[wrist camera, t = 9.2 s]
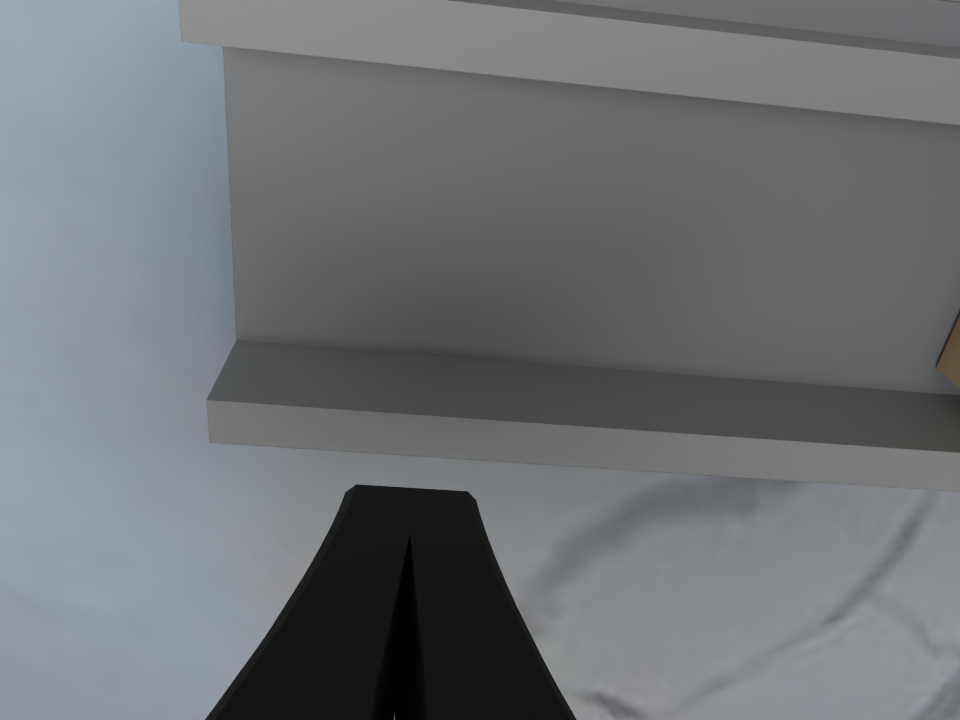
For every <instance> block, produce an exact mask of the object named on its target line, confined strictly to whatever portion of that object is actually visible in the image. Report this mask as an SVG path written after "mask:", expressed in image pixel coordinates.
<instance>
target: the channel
mask: <svg viewBox="0 0 960 720" xmlns="http://www.w3.org/2000/svg"><path fill="white" fill-rule="evenodd" d="M178 1H179V15H180V29H181V42H190V43H200V44H209V45H218V46H223V55H224V76H225V98H226V119H227V141H228V162H229V184H230V205H231V227H232V248H233V270H234V291H235V313H236V334H237V341H236V343H235V345H234V347H233V349H232V351H231V353H230V355H229V357H228V359H227V361H226V363H225V365H224V367H223V369H222V371H221V373H220V374H219V376H218V378H217V380H216V382H215V384H214V386H213V388H212V390H211V392H210V394H209V396H208V398H207V413H208V428H209V442H210V443H222V444H238V445H253V446H268V447H283V448H299V449H314V450H329V451H344V452H360V453H375V454H390V455H405V456H421V457H436V458H451V459H466V460H482V461H497V462H512V463H527V464H543V465H558V466H573V467H588V468H604V469H619V470H634V471H649V472H665V473H680V474H695V475H710V476H726V477H741V478H756V479H771V480H787V481H802V482H817V483H832V484H848V485H863V486H878V487H893V488H909V489H924V490H939V491H954V492H960V388H959V387H958V386H957V385H955V384H954V383H953V382H952V381H951V380H950V379H949V378H948V377H947V376H945V375H944V374H943V373H942V372H941V371H940V370H939V369H938V368H937V365H938V363H939V361H940V359H941V356H942V354H943V352H944V350H945V347H946V345H947V343H948V341H949V338H950V336H951V334H952V332H953V329H954V327H955V325H956V323H957V320H958V318H959V316H960V2H955V1H946V0H178Z"/></svg>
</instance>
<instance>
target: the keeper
mask: <svg viewBox="0 0 960 720" xmlns="http://www.w3.org/2000/svg"><path fill="white" fill-rule="evenodd" d="M937 368H938V369H939V370H940V371H941V372H942V373H943V374H944V375H945V376H947V377H948V378H949V379H950V380H951V381H952V382H953V383H954V384H955V385H957V386H958V387H959V388H960V316H959V318H958V320H957V323H956V325H955V327H954V329H953V332H952V334H951V336H950V338H949V341H948V343H947V345H946V347H945V350H944V352H943V354H942V356H941V359H940V361H939V363H938V365H937Z"/></svg>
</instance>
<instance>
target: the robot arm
mask: <svg viewBox="0 0 960 720" xmlns="http://www.w3.org/2000/svg"><path fill="white" fill-rule="evenodd" d="M394 714H395V720H576V718H575V716H574V714H573V713H572V711H571V709H570V707H569V706H568V704H567V702H566V701H565V699H564V697H563V695H562V694H561V692H560V690H559V688H558V686H557V685H556V683H555V681H554V679H553V677H552V675H551V673H550V672H549V670H548V668H547V666H546V664H545V662H544V660H543V659H542V657H541V655H540V652H539V650H538V648H537V646H536V644H535V642H534V640H533V638H532V636H531V634H530V632H529V630H528V628H527V626H526V624H525V622H524V620H523V618H522V616H521V614H520V612H519V610H518V608H517V606H516V604H515V602H514V599H513V597H512V595H511V593H510V591H509V589H508V586H507V584H506V582H505V579H504V577H503V575H502V572H501V570H500V567H499V565H498V563H497V560H496V558H495V555H494V553H493V550H492V548H491V545H490V542H489V540H488V537H487V534H486V531H485V528H484V525H483V522H482V519H481V516H480V513H479V509H478V505H477V501H476V500H475V499H474V498H473V497H472V495H471V494H470V493H469V492H467V491H451V490H435V489H419V488H403V487H387V486H371V485H355V486H354V487H352V488H351V489H350V490H348V491H347V492H345V495H344V498H343V500H342V503H341V506H340V508H339V511H338V513H337V515H336V517H335V519H334V521H333V524H332V526H331V528H330V530H329V532H328V534H327V535H326V537H325V539H324V541H323V543H322V545H321V547H320V549H319V550H318V552H317V554H316V556H315V557H314V559H313V561H312V563H311V564H310V566H309V568H308V570H307V571H306V573H305V575H304V577H303V578H302V580H301V581H300V583H299V584H298V586H297V588H296V589H295V591H294V592H293V594H292V596H291V597H290V599H289V600H288V602H287V603H286V605H285V607H284V608H283V610H282V611H281V613H280V614H279V616H278V618H277V619H276V621H275V622H274V624H273V626H272V627H271V629H270V630H269V632H268V633H267V635H266V636H265V638H264V639H263V641H262V642H261V643H260V645H259V646H258V648H257V649H256V650H255V652H254V653H253V655H252V656H251V657H250V659H249V660H248V662H247V663H246V664H245V666H244V667H243V668H242V670H241V671H240V673H239V674H238V675H237V677H236V678H235V679H234V681H233V682H232V684H231V685H230V686H229V688H228V689H227V691H226V692H225V693H224V695H223V696H222V697H221V699H220V700H219V702H218V703H217V704H216V706H215V707H214V709H213V710H212V711H211V712H210V714H209V715H208V716H207V718H206V719H205V720H394Z"/></svg>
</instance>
